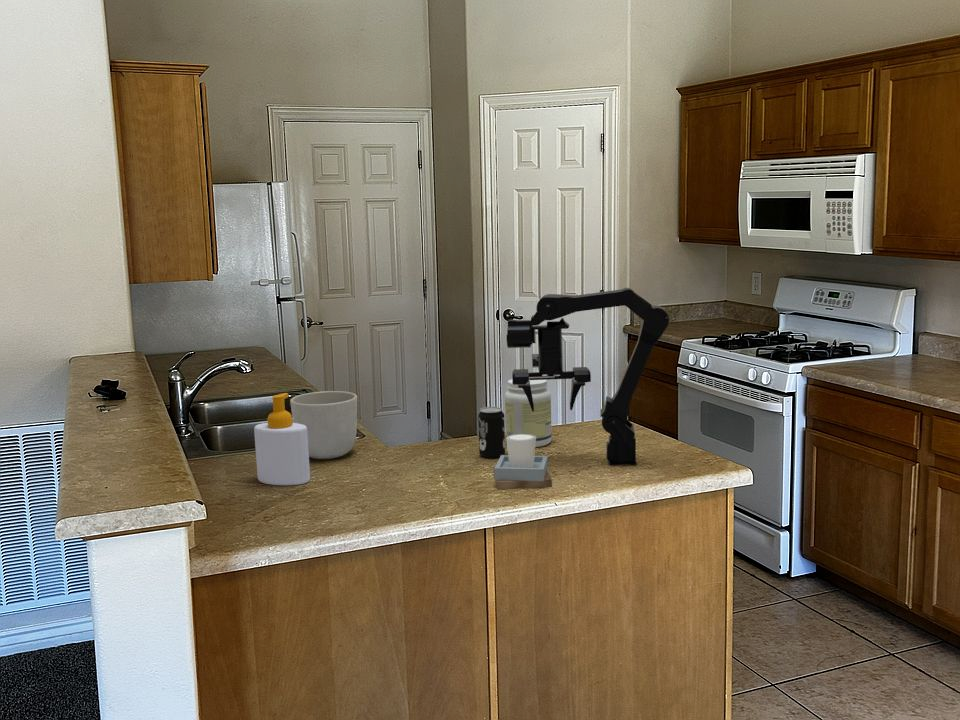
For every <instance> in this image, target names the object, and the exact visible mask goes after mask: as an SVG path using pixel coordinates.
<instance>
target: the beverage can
mask: <svg viewBox="0 0 960 720" xmlns="http://www.w3.org/2000/svg"><path fill="white" fill-rule="evenodd" d="M503 411H504V410H503V408H502V407H498V406H486V407H482V408H480V409H479V413H478V417H477V419H478V453H479V455H480V456H481V457H482V458H483V459H484V458H485V459H499V457H500V456H501V455H506V454H505V453H506V424H505V412H503Z"/></svg>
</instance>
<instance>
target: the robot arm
mask: <svg viewBox="0 0 960 720" xmlns="http://www.w3.org/2000/svg"><path fill="white" fill-rule="evenodd" d="M621 306H622V307H623V306H625V307H627V309H629V310H630V311H632V313H634V314H635V315H636V316H637V317H639V319H640V320H641V322H640V327H639V332H638V334H639V335H638V339H637V342H636V343H635V347H634V349H633V351H632V354H631V355H630V359H629V361H628V363H627V366H626V368H625V370H624V372H623V375H622V378H621V380H620V383H619V385H618V388H617V390H616V391H615V393H614V394H613V396H612V397H609V396H608V395H607V396H606V397H605V402H604V405H603V406H602V408H601V409H600V417H601V426H602V428H603V430H604V431H605V432H606V433H608V434H609V435H608V441H606V444H605V445H606V447H605V448H606V450H605V451H606V455H605V456H606V461H607V462H608V464H609V466H636V465H638V462H637V458H636V457H637V456H636V455H637V454H636V453H637V448H636V447H637V445H636V444H637V443H636V442H637V438H636V436H635V434H636V433H635V426H634V424H633V423H632V422H631V421H630V420H629V419H628V418H629V417H628V416H629V412H630V408H631V407H630V406H631V401H632V398H633V395H634V393H635V392H636V388H637V386H638V384H639V381H640V379H641V376H642V374H643V372H644V369H645V367H646V364H647V362H648V360H649V358H650V355H651V352H652V350H653V348H654V346H655V345H656V344H657V343H658V341H659V339H660V338H661V337H662V335H663V334H664V333H665V330H666V329H667V328H668V326H669V323H670V316H669V315H668V313H667V310H665V308H664V307H662V306H660V305H658V304H654V305H652V304H651V303H650V302H648V301H647V299H644V298H643V297H642V296H640V294H637V293H636V292H635V291H634V289H632V288H630V287H624V288H621V289H614V290H607V291H600V292H592V293H585V294H578V295H577V294H575V295H574V294H573V295H571V294H559V293H558V294H557V293H555V294H554V293H548V294H544V295H543V296H541V298H539V300H538V302H537V304H536V312H535V313H534V315H533V314H532V316H531V317H530V319H521V320H520V319H518V320H517V319H508V320H507V331H506V332H507V334H506V346H507V348H508V349H520V348H522V349H525V348H526V349H527V348H532V345H533V344H536V341H537V344H538V347H537V348H538V353H532V354H531V363H532V368H538V369H537V370H538V371H537V372H536V371H535V372H533V371H531V372H529V369H528V368H521V369H519V368H518V369H517V368H516V369H515V368H514V370H512V373H511V375H512V378H511V379H512V380H513V384H514V385H518V388H523V390H524V392H525V394H526V396H527V398H528V401H529V404H530V406H531V409H532V412H534V404H533V398H532V392H531V386H530V381H529V380H547V381H548V380H570V379H571V386H570V387H571V388H570V397H569V398H570V399H569V410H570V411H573V408H574V405H575V402H576V398H577V396H578V393H579V392H580V391H581V388H582V387H585V386H586V383H591V382H592V380H591V379H592V376H591V370H590V369H589V368H588V367H587V366H578V367H577V366H576V367H575V366H574V367H572V370H565V371H564V369H563V367H564V366H563V336H562V335H563V330H567V329H568V330H569V328H570V324H569V323H568V322H567V321H566V320H565V319H564V317H565V316H567V315H571V314H574V313H578V312H584V311H590V310H600V309H607V308H615V307H621ZM556 319H559V320H558V321H554V320H556ZM545 321H547V322H546V325H545V324H543V322H545ZM541 324H543V325H541ZM536 330H537V331H536ZM536 332H537V335H536ZM536 336H537V338H536Z"/></svg>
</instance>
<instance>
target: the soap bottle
mask: <svg viewBox="0 0 960 720" xmlns="http://www.w3.org/2000/svg"><path fill="white" fill-rule="evenodd" d="M288 397H289V393H288V392H284V393H279V394H276V395H273V396H272V410H273V411H272V412H270V413H269V414H268V416H267V422H264V423H263V422H262V423H259V424H256V425H255V426H254V428H253V430H254V431H253V433H254V434H253V436H254V446H255V447H254V448H255V461H256V462H255V463H256V473H257V474H256V475H257V480H258V481H259V482H260V483H263V484H266V485H270V486H271V485H273V486H297V485H305V484H306V483H309V481H310V480H311V471H310V469H311V468H310V467H311V466H310V457H309V451H308V436H307V427H306V426H305V425H303V424H298V423H293V418H292V413H291V412H289V411H287V410H286V407H285V399H288Z"/></svg>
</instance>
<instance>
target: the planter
mask: <svg viewBox="0 0 960 720" xmlns="http://www.w3.org/2000/svg"><path fill="white" fill-rule="evenodd" d="M289 401H290V409H291V416H292V423H298V424H303V425H305V426H306V427H307V436H308V451H309V459H310V458H311V459H316V460H331V459H336V458H341V457H343V456H345V455H346V454H348V453H349V452H350V451H351V450H352V449H353V448H354V445H355V442H356V439H357V433H358V432H357V424H358V395H357V394H356V393H355V392H349V391H341V390H327V391H326V390H325V391H324V390H323V391H315V392H308V393H302V394H299V395H296V396H295V395H294V397H291V398H290V400H289Z"/></svg>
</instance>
